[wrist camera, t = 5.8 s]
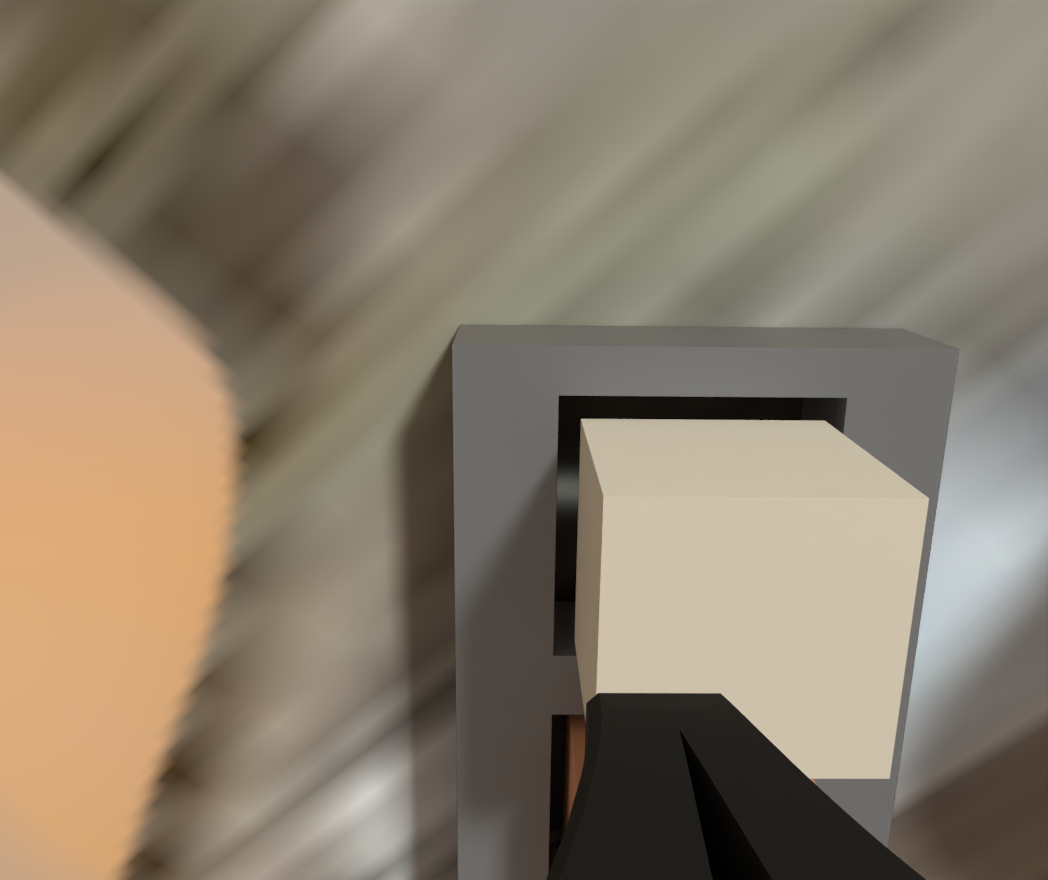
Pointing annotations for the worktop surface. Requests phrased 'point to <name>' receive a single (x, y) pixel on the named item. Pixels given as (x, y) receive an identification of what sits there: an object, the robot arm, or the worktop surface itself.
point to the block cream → (751, 578)
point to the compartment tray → (530, 526)
